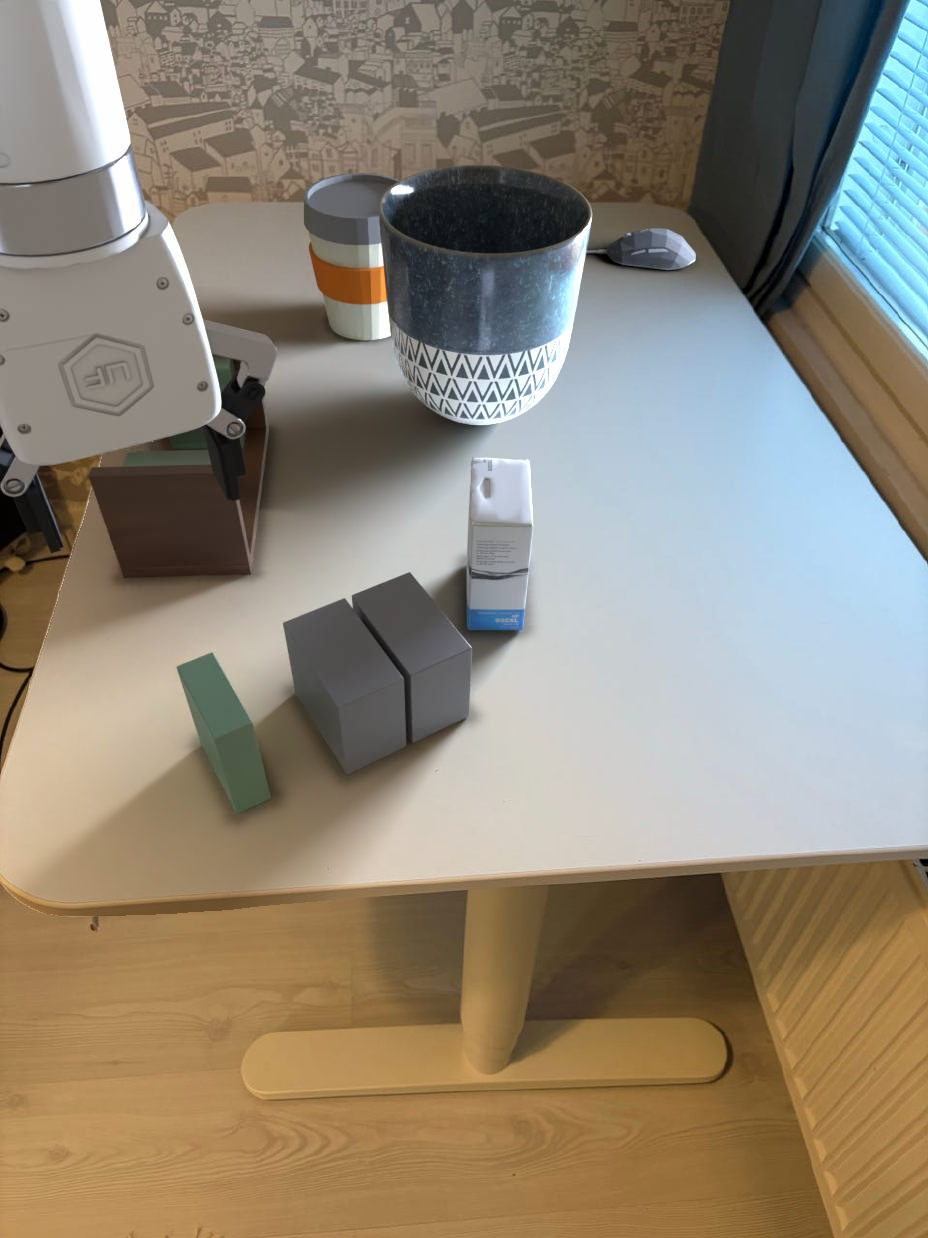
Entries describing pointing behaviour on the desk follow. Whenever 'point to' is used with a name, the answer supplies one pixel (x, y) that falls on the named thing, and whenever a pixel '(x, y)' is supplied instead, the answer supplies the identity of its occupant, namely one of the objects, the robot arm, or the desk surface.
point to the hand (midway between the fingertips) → (142, 510)
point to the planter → (482, 285)
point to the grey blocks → (379, 670)
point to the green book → (225, 732)
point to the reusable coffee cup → (349, 252)
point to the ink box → (498, 543)
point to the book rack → (184, 502)
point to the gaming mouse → (650, 249)
